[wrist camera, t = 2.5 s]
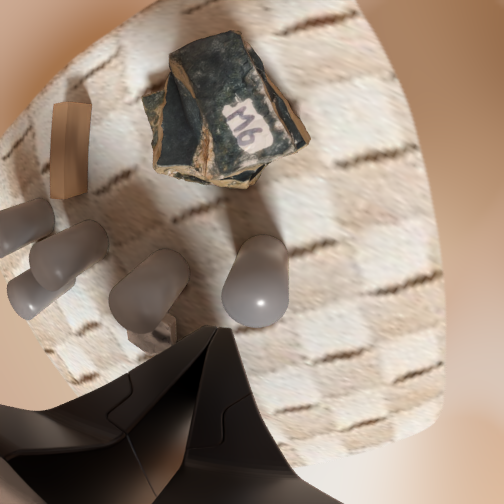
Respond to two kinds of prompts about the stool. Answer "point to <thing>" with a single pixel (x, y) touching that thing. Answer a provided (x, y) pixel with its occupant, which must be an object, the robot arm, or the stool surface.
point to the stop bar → (69, 149)
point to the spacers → (135, 272)
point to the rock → (220, 115)
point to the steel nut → (156, 336)
